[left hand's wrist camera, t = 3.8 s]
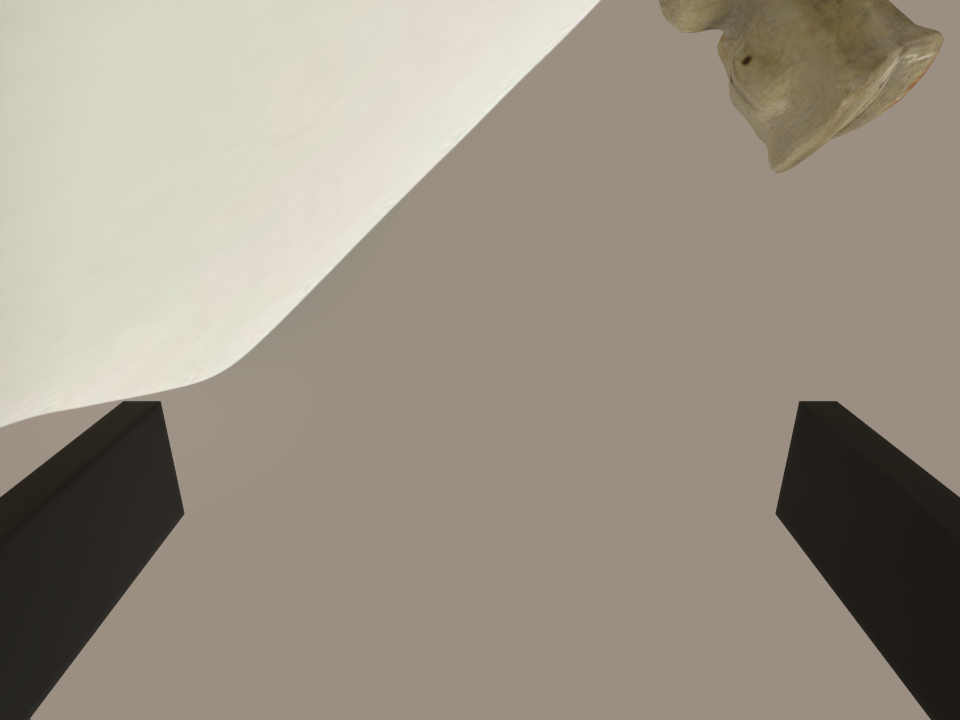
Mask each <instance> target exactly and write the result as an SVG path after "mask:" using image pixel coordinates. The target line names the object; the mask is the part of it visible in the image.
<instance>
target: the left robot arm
mask: <svg viewBox="0 0 960 720" xmlns="http://www.w3.org/2000/svg"><path fill="white" fill-rule="evenodd" d="M183 515H184V509H183V505H182V500H181V495H180V490H179V486H178V481H177V476H176V472H175V467H174V462H173V457H172V453H171V448H170V443H169V439H168V434H167V429H166V424H165V420H164V415H163V410H162V406H161V402H160V401H123V402H122V403H121V404H119V405H118V406H117V407H115V408H114V409H113V410H112V411H110V412H109V413H108V414H106V415H105V416H104V417H103V418H101V419H100V420H99V421H98V422H96V423H95V424H94V425H92V426H91V427H90V428H89V429H87V430H86V431H85V432H83V433H82V434H81V435H80V436H78V437H77V438H76V439H74V440H73V441H72V442H71V443H69V444H68V445H67V446H65V447H64V448H63V449H62V450H60V451H59V452H58V453H57V454H55V455H54V456H53V457H51V458H50V459H49V460H48V461H46V462H45V463H44V464H42V465H41V466H40V467H39V468H37V469H36V470H35V471H33V472H32V473H31V474H30V475H28V476H27V477H26V478H24V479H23V480H22V481H21V482H19V483H18V484H17V485H16V486H14V487H13V488H12V489H10V490H9V491H8V492H7V493H5V494H4V495H3V496H1V497H0V720H31V719H30V718H31V716H32V715H33V714H34V712H35V711H36V710H37V708H38V707H39V706H40V704H41V703H42V702H43V700H44V699H45V698H46V696H47V695H48V694H49V692H50V691H51V690H52V688H53V687H54V686H55V684H56V683H57V682H58V680H59V679H60V678H61V677H62V675H63V674H64V673H65V671H66V670H67V669H68V667H69V666H70V665H71V663H72V662H73V661H74V659H75V658H76V657H77V655H78V654H79V653H80V651H81V650H82V649H83V647H84V646H85V645H86V643H87V642H88V641H89V640H90V638H91V637H92V636H93V634H94V633H95V632H96V630H97V629H98V628H99V626H100V625H101V624H102V622H103V621H104V620H105V618H106V617H107V616H108V614H109V613H110V612H111V610H112V609H113V608H114V606H115V605H116V604H117V602H118V601H119V600H120V598H121V597H122V596H123V594H124V593H125V592H126V591H127V589H128V588H129V587H130V585H131V584H132V583H133V581H134V580H135V579H136V577H137V576H138V575H139V573H140V572H141V571H142V569H143V568H144V567H145V565H146V564H147V563H148V561H149V560H150V559H151V557H152V556H153V555H154V553H155V552H156V551H157V550H158V548H159V547H160V545H161V544H162V543H163V542H164V540H165V539H166V538H167V536H168V535H169V534H170V532H171V531H172V530H173V528H174V527H175V526H176V524H177V523H178V522H179V520H180V519H181V518H182V516H183ZM776 515H777V516H778V518H779V519H780V520H781V522H782V523H783V524H784V526H785V527H786V528H787V530H788V531H789V532H790V534H791V535H792V536H793V538H794V539H795V540H796V542H797V543H798V544H799V546H800V547H801V548H802V549H803V551H804V552H805V553H806V555H807V556H808V557H809V559H810V560H811V561H812V563H813V564H814V565H815V567H816V568H817V569H818V571H819V572H820V573H821V575H822V576H823V577H824V579H825V580H826V581H827V583H828V584H829V585H830V587H831V588H832V589H833V590H834V592H835V593H836V594H837V596H838V597H839V598H840V600H841V601H842V602H843V604H844V605H845V606H846V608H847V609H848V610H849V612H850V613H851V614H852V616H853V617H854V618H855V620H856V621H857V622H858V624H859V625H860V626H861V628H862V629H863V630H864V632H865V633H866V634H867V636H868V637H869V638H870V640H871V641H872V642H873V643H874V645H875V646H876V647H877V649H878V650H879V651H880V653H881V654H882V655H883V657H884V658H885V659H886V661H887V662H888V663H889V665H890V666H891V667H892V669H893V670H894V671H895V673H896V674H897V675H898V677H899V678H900V679H901V681H902V682H903V683H904V685H905V686H906V687H907V688H908V690H909V691H910V692H911V694H912V695H913V696H914V698H915V699H916V700H917V702H918V703H919V704H920V706H921V707H922V708H923V710H924V711H925V712H926V714H927V715H928V716H929V718H930V719H931V720H960V497H959V496H957V495H956V494H955V493H953V492H952V491H951V490H950V489H948V488H947V487H946V486H944V485H943V484H942V483H941V482H939V481H938V480H937V479H935V478H934V477H933V476H932V475H930V474H929V473H928V472H927V471H925V470H924V469H923V468H921V467H920V466H919V465H918V464H916V463H915V462H914V461H912V460H911V459H910V458H909V457H907V456H906V455H905V454H904V453H902V452H901V451H900V450H898V449H897V448H896V447H895V446H893V445H892V444H891V443H889V442H888V441H887V440H886V439H884V438H883V437H882V436H880V435H879V434H878V433H876V432H875V431H874V430H873V429H871V428H870V427H869V426H868V425H866V424H865V423H864V422H863V421H861V420H860V419H859V418H857V417H856V416H855V415H854V414H852V413H851V412H850V411H848V410H847V409H846V408H845V407H843V406H842V405H841V404H839V403H838V402H837V401H800V402H799V406H798V410H797V415H796V420H795V424H794V429H793V434H792V439H791V443H790V448H789V453H788V457H787V462H786V467H785V472H784V476H783V481H782V486H781V490H780V495H779V500H778V505H777V509H776Z"/></svg>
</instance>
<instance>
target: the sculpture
mask: <svg viewBox="0 0 960 720" xmlns="http://www.w3.org/2000/svg"><path fill="white" fill-rule="evenodd" d="M659 3H660V6H661V10H662V13H663V15H664V16H665V18H666V20H667V21H668V22H669V23H670V24H671V25H672V26H673V27H675V28H676V29H678V30H679V31H681V32H685V33H695V32H701V31H705V30H711V29H720V30H722V31H723V32H724V33H723V35H722V37H721V38H720V41H719V43H718V47H717V48H718V54H719V56H720V59H721V61H722V63H723V65H724V67H725V69H726V72H727V76H728V79H729V95H730V100H731V102H732V103H733V105H734V106H735V107H736V109H737V110H738V111H739V112H740V113H741V114H742V115H743V116H744V117H745V119H746V120H747V121H748V123H749V124H750V125H751V127H752V128H753V129H754V131H755V133H756V134H757V136H758V137H759V139H760V140H762V141H763V142H764V143H765V145H766V146H767V149H768V156H769V165H770V168H771V170H772V171H773V172H776V173H781V172H784V171H786V170H789V169H791V168H793V167H794V166H796V165H797V164H799V163H800V162H802V161H803V160H804V159H806V158H807V157H809V156H810V155H812V154H813V153H814V152H816V151H817V150H818V149H820V148H821V147H822V146H824V145H825V144H826V143H827V142H828V141H829V140H830V139H833V138H836V137H839V136H842V135H844V134H847V133H849V132H851V131H853V130H855V129H857V128H859V127H861V126H863V125H865V124H866V123H868V122H870V121H871V120H873V119H874V118H876V117H878V116H879V115H881V114H882V113H883V112H885V111H886V110H888V109H889V108H890V107H891V106H893V105H894V104H895V103H897V102H898V101H899V100H901V99H902V98H903V97H904V96H905V95H906V94H907V93H908V92H909V91H910V90H911V89H912V88H913V87H914V86H915V84H916V83H917V82H918V81H919V80H920V78H921V77H922V76H923V75H924V74H925V72H926V71H927V70H928V68H929V67H930V65H931V64H932V62H933V61H934V59H935V58H936V56H937V54H938V52H939V50H940V48H941V46H942V43H943V40H944V38H943V35H942V34H941V33H940V32H938V31H936V30H932V29H929V28H926V27H922V26H919V25H915V24H914V23H913V22H912V21H911V20H910V19H909V18H907V17H906V16H905V15H904V14H903V13H902V12H901V11H899V10H898V9H897V8H896V7H895V6H894V5H893V4H892V3H891V2H890V1H889V0H659Z"/></svg>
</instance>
